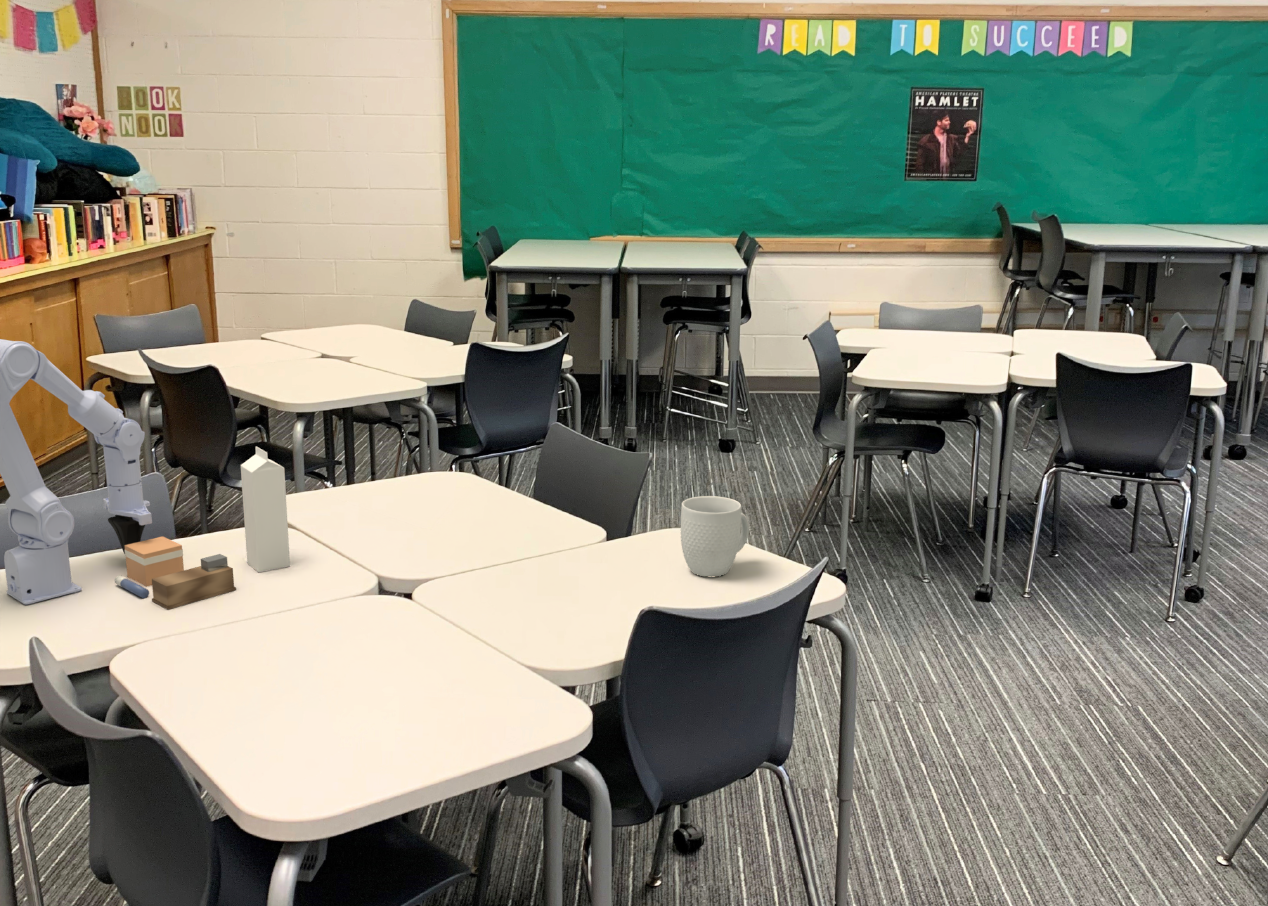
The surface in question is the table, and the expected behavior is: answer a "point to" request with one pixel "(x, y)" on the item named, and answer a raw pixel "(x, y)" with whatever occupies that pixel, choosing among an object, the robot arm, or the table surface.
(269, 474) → the milk
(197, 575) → the podium
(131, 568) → the carton
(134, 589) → the marker
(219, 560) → the eraser
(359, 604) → the table surface
